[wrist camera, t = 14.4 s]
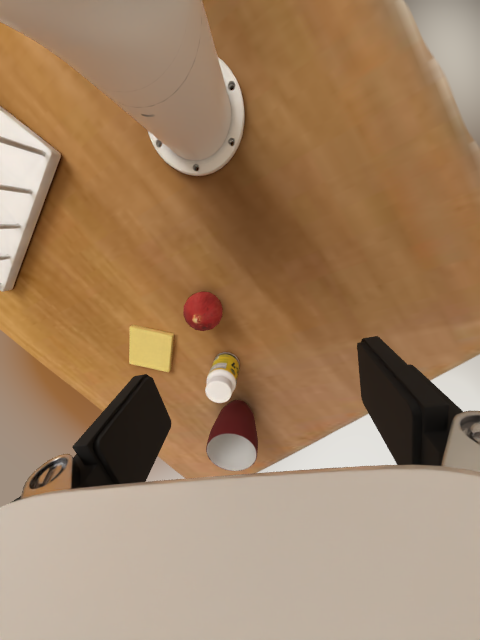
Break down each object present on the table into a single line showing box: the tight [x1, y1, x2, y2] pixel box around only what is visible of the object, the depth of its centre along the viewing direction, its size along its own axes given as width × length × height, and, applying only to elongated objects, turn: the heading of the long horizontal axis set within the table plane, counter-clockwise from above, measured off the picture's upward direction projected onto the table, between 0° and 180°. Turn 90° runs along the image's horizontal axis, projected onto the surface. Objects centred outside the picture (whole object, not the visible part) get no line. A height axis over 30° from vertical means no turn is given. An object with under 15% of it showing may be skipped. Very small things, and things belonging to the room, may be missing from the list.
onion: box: [184, 292, 223, 331], centre depth 35 cm, size 6×6×8 cm
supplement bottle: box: [205, 352, 240, 403], centre depth 39 cm, size 5×5×8 cm
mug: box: [206, 400, 258, 471], centre depth 42 cm, size 11×8×10 cm
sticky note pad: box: [129, 325, 174, 372], centre depth 43 cm, size 8×8×1 cm
